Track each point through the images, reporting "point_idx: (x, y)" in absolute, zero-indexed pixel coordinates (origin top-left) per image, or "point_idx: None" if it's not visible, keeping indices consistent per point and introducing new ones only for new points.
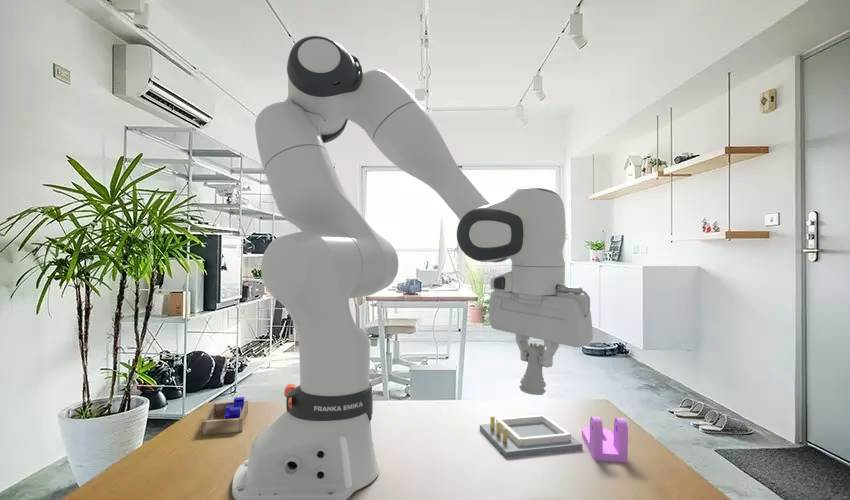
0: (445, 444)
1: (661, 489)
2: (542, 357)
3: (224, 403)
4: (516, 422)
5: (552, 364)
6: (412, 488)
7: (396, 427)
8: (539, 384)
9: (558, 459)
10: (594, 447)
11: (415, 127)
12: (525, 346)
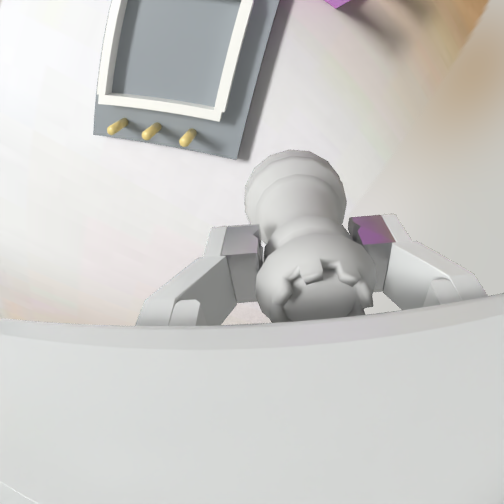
0: (143, 221)
1: (464, 27)
2: (380, 288)
3: None
4: (114, 55)
5: (395, 215)
6: (258, 313)
7: (67, 255)
8: (342, 218)
9: (295, 66)
10: (342, 4)
11: None
12: (216, 297)
